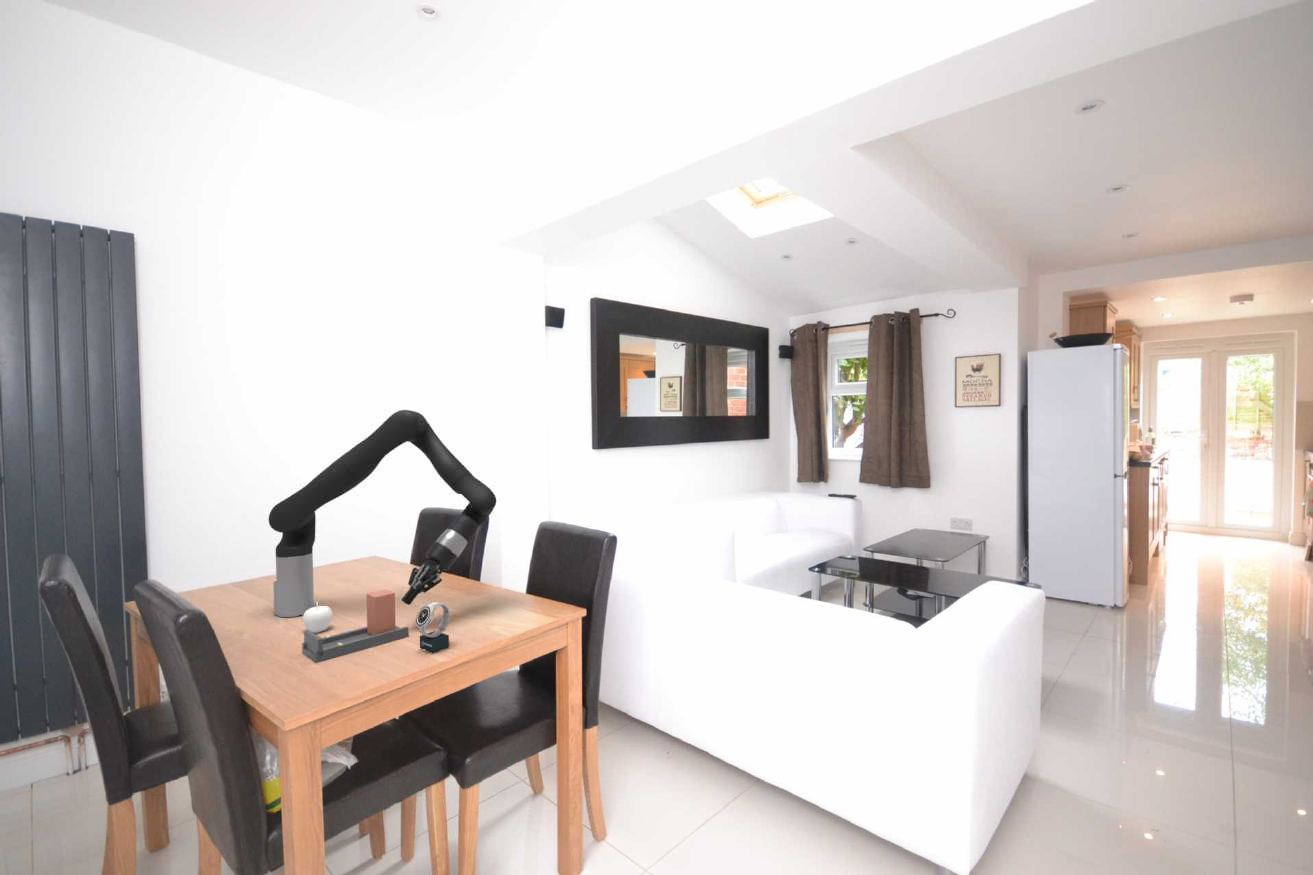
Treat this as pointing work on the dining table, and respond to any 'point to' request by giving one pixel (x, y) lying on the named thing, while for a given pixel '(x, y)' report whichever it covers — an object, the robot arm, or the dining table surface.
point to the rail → (346, 642)
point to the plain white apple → (317, 618)
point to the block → (380, 612)
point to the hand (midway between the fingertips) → (405, 602)
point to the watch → (436, 638)
